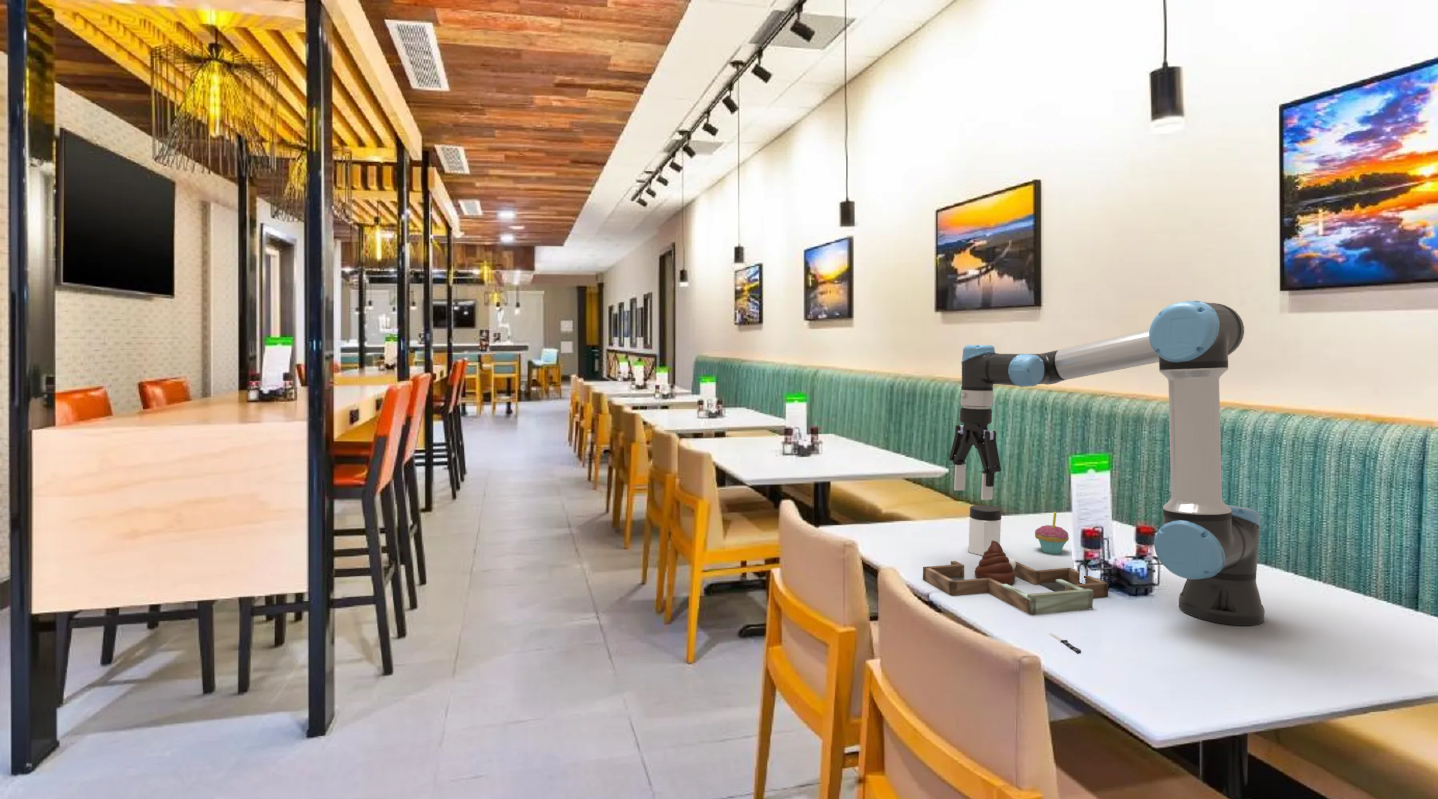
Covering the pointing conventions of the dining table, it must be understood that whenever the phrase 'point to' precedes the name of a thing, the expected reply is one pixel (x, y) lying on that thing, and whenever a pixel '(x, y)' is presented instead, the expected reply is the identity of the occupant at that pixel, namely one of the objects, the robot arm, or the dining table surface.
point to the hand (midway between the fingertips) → (972, 494)
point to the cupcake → (1051, 537)
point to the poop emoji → (996, 565)
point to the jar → (983, 527)
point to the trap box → (1059, 580)
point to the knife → (1066, 643)
